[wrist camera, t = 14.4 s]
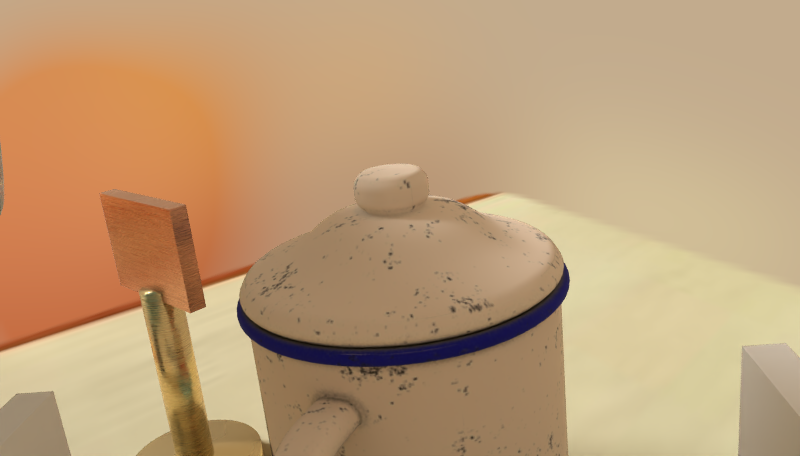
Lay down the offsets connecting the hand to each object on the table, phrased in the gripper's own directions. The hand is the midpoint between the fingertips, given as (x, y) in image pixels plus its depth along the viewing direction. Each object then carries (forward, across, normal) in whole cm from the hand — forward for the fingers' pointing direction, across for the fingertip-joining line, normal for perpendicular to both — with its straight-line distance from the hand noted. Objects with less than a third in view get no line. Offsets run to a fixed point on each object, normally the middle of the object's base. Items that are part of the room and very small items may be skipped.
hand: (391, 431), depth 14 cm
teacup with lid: (+6, -1, -8) cm, 10 cm away
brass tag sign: (+12, -9, -9) cm, 18 cm away
